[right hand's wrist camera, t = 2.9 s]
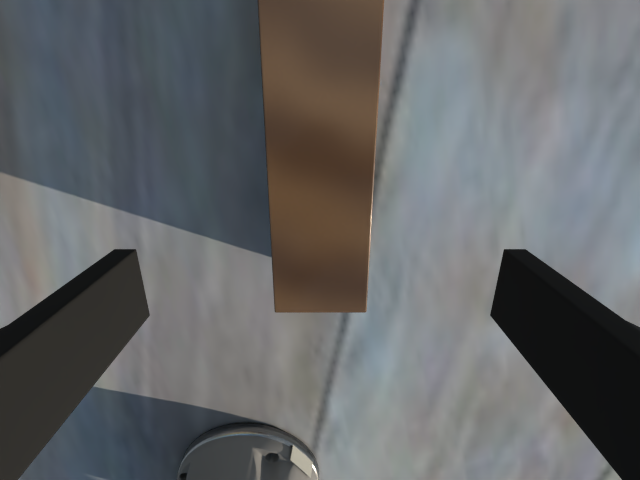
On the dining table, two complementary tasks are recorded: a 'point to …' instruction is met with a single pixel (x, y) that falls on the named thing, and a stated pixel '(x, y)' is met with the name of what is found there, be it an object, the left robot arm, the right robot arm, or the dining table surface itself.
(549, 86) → the dining table surface
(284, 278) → the post
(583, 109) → the dining table surface
